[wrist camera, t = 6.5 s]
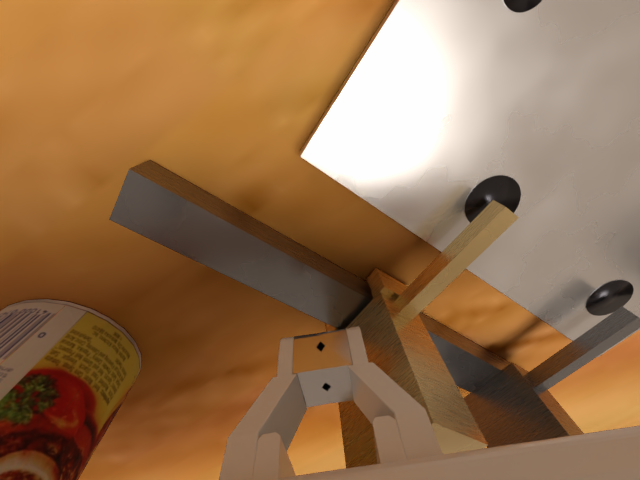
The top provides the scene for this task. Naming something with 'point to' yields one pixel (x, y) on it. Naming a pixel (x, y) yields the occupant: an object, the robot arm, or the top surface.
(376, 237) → the top surface
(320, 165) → the bolt plate
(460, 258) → the sliding leg
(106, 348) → the canned food
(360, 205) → the top surface
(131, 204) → the rail
